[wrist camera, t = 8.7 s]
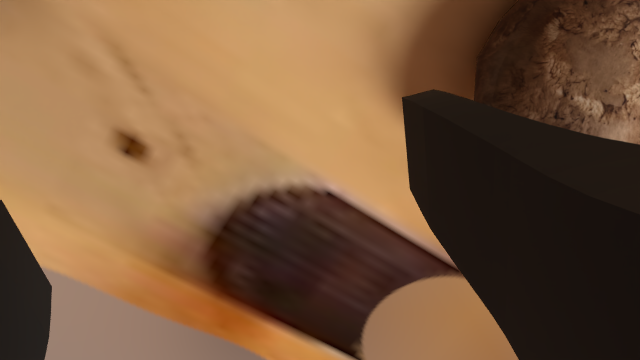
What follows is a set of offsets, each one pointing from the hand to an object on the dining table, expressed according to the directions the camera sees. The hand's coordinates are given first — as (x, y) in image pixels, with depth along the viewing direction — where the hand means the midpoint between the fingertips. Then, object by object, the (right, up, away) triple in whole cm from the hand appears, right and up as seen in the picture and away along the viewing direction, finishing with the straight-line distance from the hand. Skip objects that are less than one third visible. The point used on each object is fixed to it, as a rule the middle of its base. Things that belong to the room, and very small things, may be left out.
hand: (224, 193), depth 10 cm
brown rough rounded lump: (+11, +5, +12) cm, 17 cm away
